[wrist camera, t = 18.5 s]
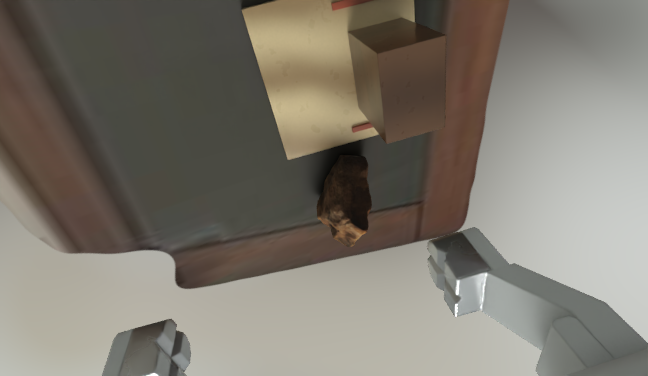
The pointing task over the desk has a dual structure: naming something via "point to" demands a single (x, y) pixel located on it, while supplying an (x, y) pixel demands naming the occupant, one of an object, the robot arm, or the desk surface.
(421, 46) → the tall rectangular block
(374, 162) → the desk surface
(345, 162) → the decorative rock
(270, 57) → the game board
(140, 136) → the desk surface
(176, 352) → the robot arm
